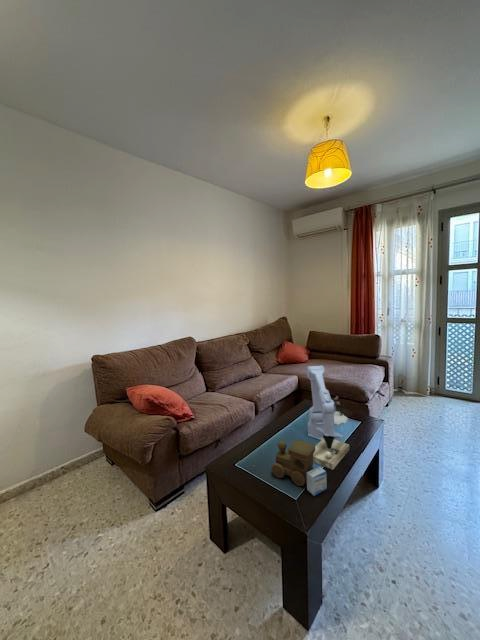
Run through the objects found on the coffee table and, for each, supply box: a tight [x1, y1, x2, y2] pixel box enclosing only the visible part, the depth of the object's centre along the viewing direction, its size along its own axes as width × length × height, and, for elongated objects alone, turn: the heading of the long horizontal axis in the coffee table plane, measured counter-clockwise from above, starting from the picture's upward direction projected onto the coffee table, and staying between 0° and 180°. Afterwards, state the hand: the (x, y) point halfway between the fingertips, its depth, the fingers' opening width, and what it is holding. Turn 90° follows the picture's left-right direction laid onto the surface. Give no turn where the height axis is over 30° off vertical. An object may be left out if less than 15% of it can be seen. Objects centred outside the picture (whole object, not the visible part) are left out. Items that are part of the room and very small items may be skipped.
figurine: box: [332, 395, 349, 425], centre depth 180 cm, size 20×18×16 cm
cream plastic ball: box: [325, 451, 331, 458], centre depth 132 cm, size 3×3×3 cm
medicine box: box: [306, 466, 328, 497], centre depth 114 cm, size 8×4×9 cm, turn 117°
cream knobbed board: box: [313, 438, 350, 471], centre depth 140 cm, size 14×22×3 cm, turn 137°
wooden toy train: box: [270, 439, 316, 487], centre depth 124 cm, size 20×11×17 cm, turn 54°
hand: (329, 447), depth 139 cm, fingers closed
